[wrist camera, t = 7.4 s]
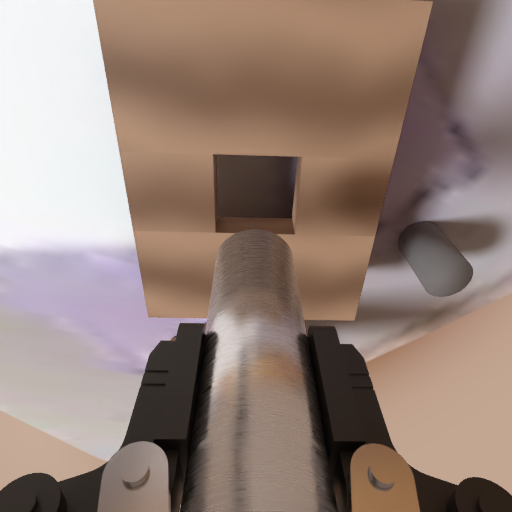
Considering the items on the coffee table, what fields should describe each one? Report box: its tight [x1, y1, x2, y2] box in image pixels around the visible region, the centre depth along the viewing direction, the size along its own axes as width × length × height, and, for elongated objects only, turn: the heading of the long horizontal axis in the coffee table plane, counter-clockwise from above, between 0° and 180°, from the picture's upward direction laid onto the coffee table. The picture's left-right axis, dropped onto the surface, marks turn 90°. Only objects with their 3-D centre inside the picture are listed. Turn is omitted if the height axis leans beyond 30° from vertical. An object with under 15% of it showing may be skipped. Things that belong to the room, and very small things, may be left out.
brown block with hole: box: [93, 0, 433, 321], centre depth 23 cm, size 18×14×6 cm
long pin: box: [180, 229, 338, 512], centre depth 11 cm, size 3×3×11 cm
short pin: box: [399, 221, 473, 297], centre depth 27 cm, size 3×3×5 cm
